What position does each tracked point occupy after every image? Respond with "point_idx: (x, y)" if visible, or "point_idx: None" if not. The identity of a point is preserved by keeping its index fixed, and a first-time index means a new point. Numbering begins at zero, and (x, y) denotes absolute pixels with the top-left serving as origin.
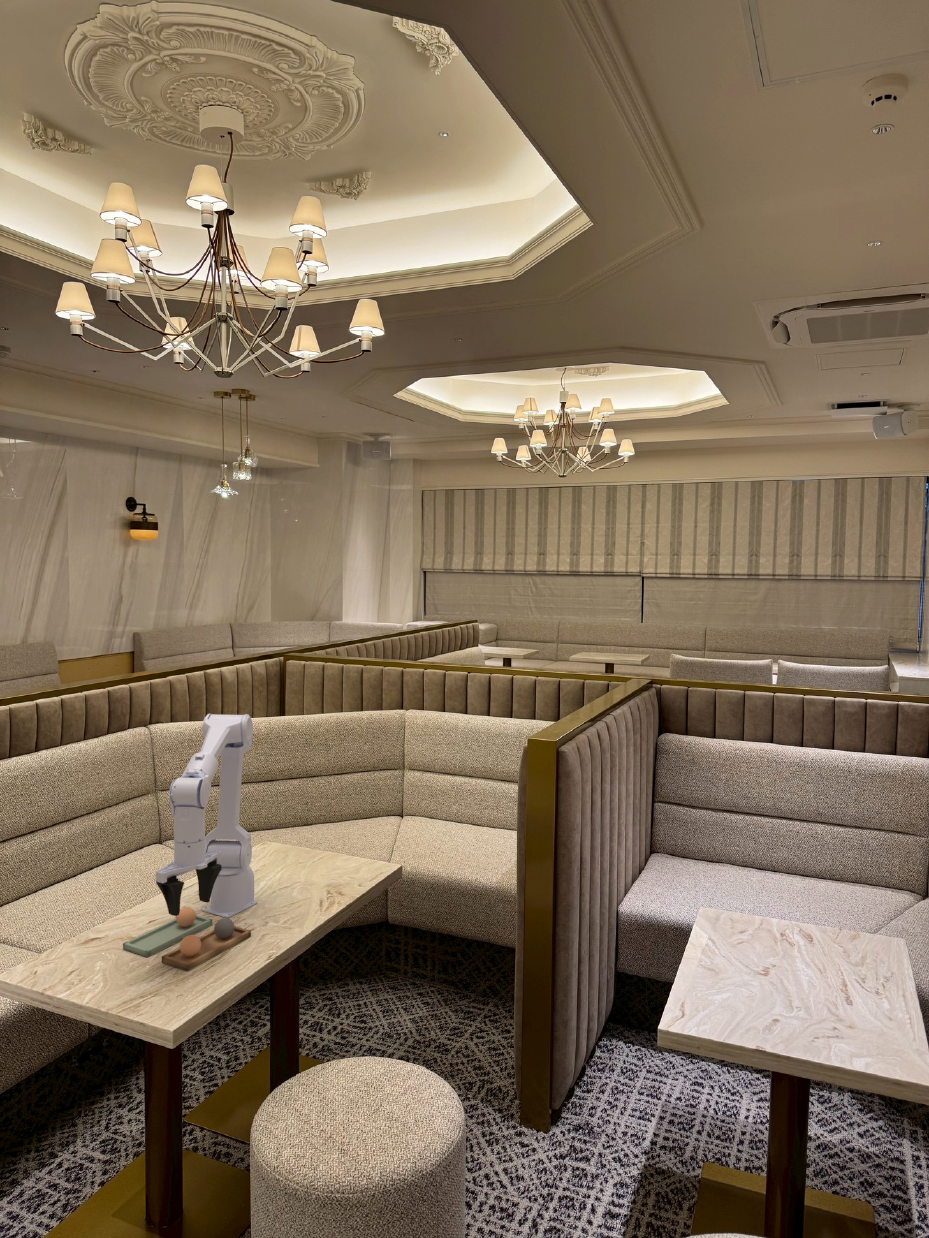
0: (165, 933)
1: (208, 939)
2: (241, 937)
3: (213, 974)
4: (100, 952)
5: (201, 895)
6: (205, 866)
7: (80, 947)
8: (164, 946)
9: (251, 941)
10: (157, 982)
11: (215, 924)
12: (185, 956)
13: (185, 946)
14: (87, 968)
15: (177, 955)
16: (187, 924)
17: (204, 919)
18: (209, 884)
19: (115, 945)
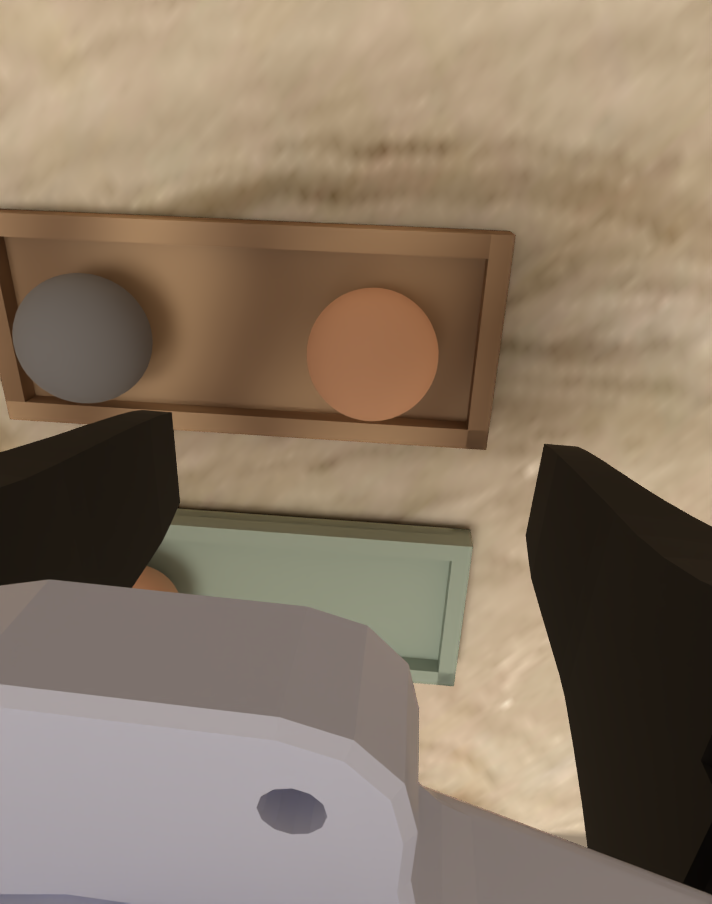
0: None
1: (181, 388)
2: (54, 214)
3: (465, 49)
4: (506, 716)
5: (156, 512)
6: (84, 618)
7: (503, 794)
8: (361, 528)
9: (21, 163)
10: (669, 299)
11: (115, 389)
12: None
13: (432, 347)
14: None
15: None
16: (158, 572)
17: None
18: (54, 482)
19: (430, 709)
